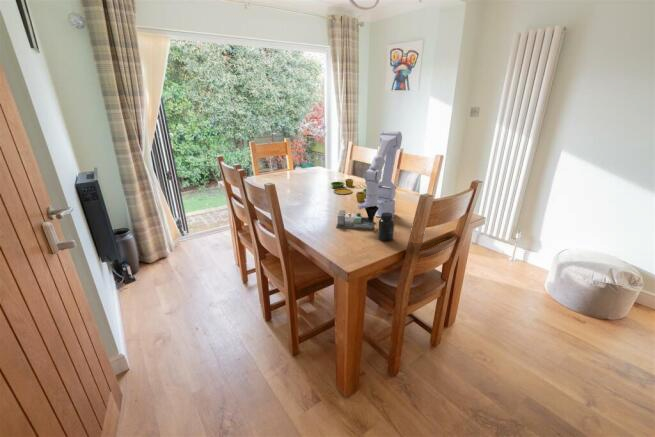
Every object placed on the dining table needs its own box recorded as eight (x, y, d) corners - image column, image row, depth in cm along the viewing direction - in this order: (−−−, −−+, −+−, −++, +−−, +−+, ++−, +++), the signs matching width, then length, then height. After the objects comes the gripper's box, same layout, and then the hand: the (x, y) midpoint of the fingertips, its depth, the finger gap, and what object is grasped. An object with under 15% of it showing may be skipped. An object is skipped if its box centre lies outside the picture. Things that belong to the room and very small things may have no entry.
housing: (354, 221, 151) (354, 212, 149) (353, 224, 147) (353, 215, 145) (345, 220, 152) (345, 211, 150) (344, 224, 148) (344, 214, 146)
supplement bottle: (391, 235, 137) (393, 211, 133) (394, 241, 131) (397, 216, 126) (376, 235, 137) (378, 211, 133) (379, 242, 131) (381, 217, 126)
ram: (361, 220, 152) (362, 211, 150) (360, 225, 145) (361, 216, 143) (355, 220, 152) (356, 210, 150) (354, 225, 146) (355, 215, 144)
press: (373, 221, 153) (374, 211, 151) (372, 230, 143) (373, 219, 141) (339, 219, 156) (339, 209, 154) (336, 227, 146) (336, 216, 144)
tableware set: (386, 200, 186) (387, 191, 183) (344, 204, 179) (344, 194, 177) (362, 183, 223) (363, 175, 220) (327, 186, 216) (327, 178, 214)
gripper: (379, 189, 148) (377, 215, 153) (354, 194, 142) (354, 220, 147) (388, 193, 142) (386, 219, 148) (363, 198, 136) (362, 225, 141)
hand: (370, 220), depth 147 cm, fingers closed
